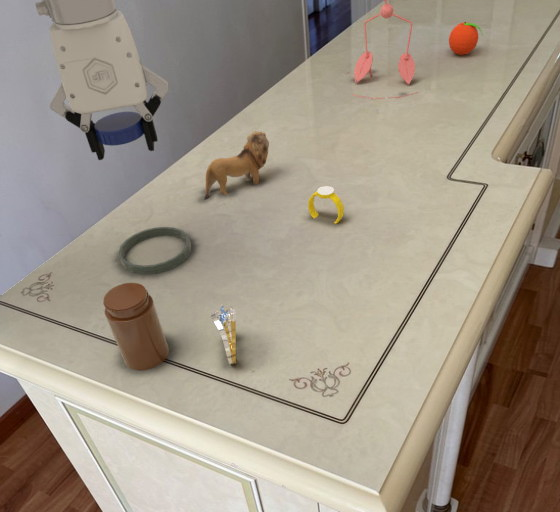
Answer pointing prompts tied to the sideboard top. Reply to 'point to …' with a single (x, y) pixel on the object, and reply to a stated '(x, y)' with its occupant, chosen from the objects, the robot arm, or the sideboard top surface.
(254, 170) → the lion figurine
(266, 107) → the sideboard top surface
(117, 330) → the jar
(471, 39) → the clementine
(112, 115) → the lid
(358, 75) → the balance scale
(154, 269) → the grey-green bangle
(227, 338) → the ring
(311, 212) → the watch
